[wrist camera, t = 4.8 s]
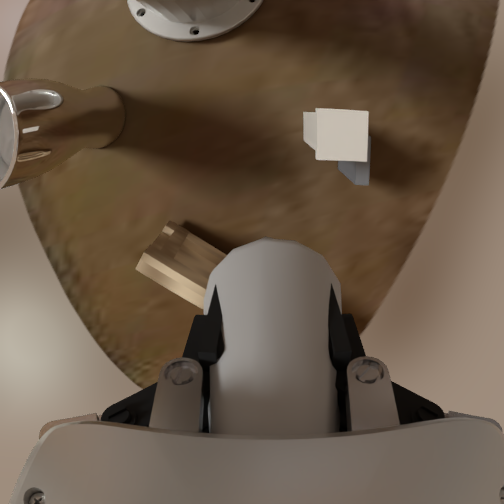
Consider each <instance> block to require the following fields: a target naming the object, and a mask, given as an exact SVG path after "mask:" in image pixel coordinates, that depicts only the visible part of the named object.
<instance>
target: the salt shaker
mask: <svg viewBox="0 0 504 504" xmlns="http://www.w3.org/2000/svg"><path fill="white" fill-rule="evenodd" d="M331 283H332V286H333V289H334V292H335V295H336V299H337V302H338V305H339V308H340V312H341V314H342V305H341V286H340V282H339V281H338V279H337V277H336V276H335V274H334V273H333V271H332V269H331V268H330V266H329V264H328V263H327V261H326V260H325V258H324V257H323V256H322V255H321V254H319V253H317V252H315V251H313V250H311V249H310V248H308V247H306V246H304V245H302V244H300V243H298V242H297V241H292V240H280V239H273V238H269V237H266V236H265V237H264V238H262V239H260V240H257V241H254V242H251V243H249V244H246V245H243V246H240V247H238V248H235V249H233V250H232V251H231V252H230V253H229V254H228V255H227V256H226V257H225V258H224V259H223V260H222V261H221V262H220V263H219V264H218V265H217V266H216V267H215V268H214V269H213V271H212V273H211V274H210V277H209V281H208V285H207V289H206V293H205V297H204V301H203V302H204V315H207V314H208V310H209V306H210V302H211V299H212V295H213V291H214V287H215V284H216V287H217V292H218V297H219V302H220V306H221V311H222V324H221V331H222V336H223V341H224V346H225V347H224V352H223V354H222V355H221V357H220V358H219V359H217V363H216V364H213V365H211V366H210V399H209V404H208V418H209V433H212V434H231V435H306V434H324V433H337V432H339V428H340V410H339V406H338V391H337V389H336V387H335V383H336V373H337V371H336V369H335V368H334V367H333V365H332V361H331V359H330V355H329V349H328V342H329V327H328V311H329V298H330V289H331Z"/></svg>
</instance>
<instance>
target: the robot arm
mask: <svg viewBox="0 0 504 504" xmlns="http://www.w3.org/2000/svg"><path fill="white" fill-rule="evenodd" d="M249 1H250V0H127V3H128V6H129V9H130V12H131V14H132V15H133V17H134V18H135V20H136V21H137V22H138V23H139V24H140V25H141V26H142V27H143V28H145V29H146V30H148V31H149V32H151V33H153V34H155V35H157V36H159V37H161V38H165V39H169V40H173V41H183V42H190V41H202V40H206V39H210V38H215V37H217V36H220V35H222V34H225V33H228V32H230V31H231V30H233V29H235V28H237V27H238V26H240V25H241V24H243V23H244V22H245V21H246V20H248V19H249V18H250V17H251V16H252V15H253V14H254V13H255V12H256V11H257V9H258V8H259V7H260V5H261V4H262V2H263V0H255V2H253V3H251V2H249ZM143 13H145V15H144V16H142V15H143ZM195 31H199V33H198V34H197V35H194V32H195ZM221 324H222V311H221V306H220V302H219V297H218V292H217V287H216V284H215V287H214V291H213V295H212V299H211V302H210V306H209V310H208V314H207V315H195V317H194V320H193V323H192V327H191V330H190V333H189V336H188V340H187V343H186V346H185V350H184V353H183V356H182V358H176V359H173V360H170V361H169V362H167V363H166V364H165V365H164V366H163V367H162V368H161V371H160V374H159V378H158V382H157V383H155V384H153V385H151V386H149V387H147V388H145V389H143V390H141V391H139V392H137V393H136V394H133V395H131V396H129V397H127V398H125V399H123V400H121V401H119V402H117V403H116V404H113V405H111V406H110V407H109V408H107V409H106V410H105V411H104V412H103V414H102V415H99V416H98V415H97V414H96V413H93V414H88V415H83V416H78V417H73V418H67V419H62V420H56V421H51V422H49V423H47V424H45V425H44V426H43V427H42V429H41V430H40V435H39V441H38V442H37V444H36V446H35V447H34V449H33V450H32V452H31V454H30V455H29V457H28V459H27V461H26V463H25V465H24V467H23V469H22V472H21V474H20V476H19V478H18V480H17V483H16V485H15V488H14V490H13V493H12V496H11V498H10V501H9V504H504V434H503V432H502V428H501V426H500V425H499V423H497V422H496V421H495V420H493V419H490V418H484V417H479V416H472V415H468V414H463V413H458V412H453V411H449V412H448V413H444V412H443V410H442V409H441V408H440V407H439V406H438V405H436V404H435V403H433V402H431V401H429V400H427V399H425V398H423V397H421V396H419V395H417V394H415V393H413V392H411V391H409V390H407V389H406V388H404V387H402V386H400V385H398V384H396V383H394V382H392V381H391V379H390V375H389V371H388V368H387V366H386V365H385V364H384V363H383V362H382V361H380V360H379V359H377V358H374V357H368V356H366V355H365V352H364V349H363V346H362V343H361V340H360V337H359V334H358V331H357V328H356V325H355V322H354V319H353V316H352V314H341V312H340V308H339V305H338V302H337V299H336V295H335V292H334V289H333V286H332V283H331V289H330V298H329V311H328V327H329V342H328V349H329V355H330V359H331V361H332V365H333V367H334V368H335V369H336V371H337V373H336V383H335V387H336V389H337V391H338V406H339V410H340V428H339V432H337V433H324V434H306V435H231V434H212V433H209V418H208V404H209V399H210V366H211V365H213V364H216V363H217V359H219V358H220V357H221V355H222V354H223V352H224V347H225V346H224V341H223V336H222V331H221Z"/></svg>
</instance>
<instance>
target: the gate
mask: <svg viewBox="0 0 504 504" xmlns="http://www.w3.org/2000/svg"><path fill="white" fill-rule="evenodd" d="M226 256H227V255H226V254H224V253H223V252H221V251H220V250H218V249H216V248H215V247H213V246H211V245H210V244H208V243H206V242H205V241H203V240H202V239H200V238H198V237H197V236H195V235H193V234H192V233H190V232H189V231H188V230H186V229H185V228H183V227H181V226H180V225H177V224H176V223H174V222H172V221H171V220H170V221H169V222H168V223H167V224H166V226H165V227H164V229H163V231H162V232H161V234H160V235H159V236H158V237H157V239H156V240H155V241H154V243H153V244H152V245H149V247H148V248H147V249H146V250H145V252H144V253H143V255H142V257H141V259H140V261H139V263H138V265H137V267H136V270H138V271H139V272H141V273H142V274H144V275H146V276H147V277H149V278H151V279H152V280H154V281H156V282H157V283H159V284H161V285H162V286H164V287H166V288H167V289H169V290H171V291H172V292H174V293H176V294H177V295H179V296H181V297H182V298H184V299H186V300H188V301H189V302H191V303H193V304H195V305H196V306H198V307H200V308H202V309H203V310H204V302H203V301H204V297H205V293H206V289H207V285H208V281H209V277H210V274H211V273H212V271H213V269H214V268H215V267H216V266H217V265H218V264H219V263H220V262H221V261H222V260H223V259H224V258H225V257H226Z"/></svg>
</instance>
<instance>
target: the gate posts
mask: <svg viewBox="0 0 504 504" xmlns="http://www.w3.org/2000/svg"><path fill="white" fill-rule="evenodd" d="M303 120H304V141H305V142H306V143H307V144H308V145H310V146H311V147H312V148H313V149H314V150H315V151H316V156H315V158H316V159H317V160H338V169H339V170H340V171H341V172H342V173H343V174H344V175H345V176H346V177H347V178H348V179H350V180H351V181H352V182H353V183H354V184H355V185H369V172H370V153H371V136H368V111H356V110H342V109H324V108H316V112H303Z"/></svg>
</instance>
